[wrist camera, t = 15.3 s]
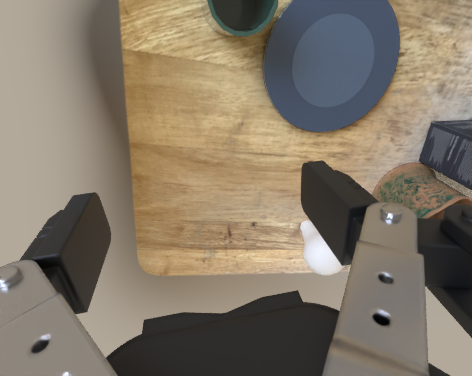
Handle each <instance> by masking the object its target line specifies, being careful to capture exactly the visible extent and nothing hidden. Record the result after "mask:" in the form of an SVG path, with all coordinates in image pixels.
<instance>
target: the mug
mask: <svg viewBox="0 0 472 376" xmlns="http://www.w3.org/2000/svg"><path fill="white" fill-rule="evenodd" d="M372 196H373V197H375V198H376V199H377V200H378V201H379V202H390V203H396V204H400V205H402V206H405V207H407V208H409V209H410V210H412V211H413V212H414V213H415V214H416V216H417V218H430V219H442V217H443V214H444V210H445V208H446V207H448V206H450V205H454V204H466V205H472V199H471V198H469V197H467V196H465V195H463V194H462V193H460V192H459V191H457V190H455V189H453V188H451V187H450V186H448V185H447V184H445V183H443V182H442V181H440V180H438V179H436V175H435V173H434V172H433V170H432V169H431V168H430V167H428V166H426V165H424V164H421V163H407V164H403V165H401V166H398V167H396V168H394V169H393V170H391V171H390V172H388V173H387V174H386V175H385V176H384V177H383V178H382V179H381V180H380V182H379V183H378V184H377V186H376V188H375V190H374V192H373V195H372Z"/></svg>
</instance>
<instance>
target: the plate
mask: <svg viewBox="0 0 472 376" xmlns="http://www.w3.org/2000/svg"><path fill="white" fill-rule="evenodd" d="M399 48H400V36H399V27H398V23H397V19H396V16H395V14H394V11H393V9H392V7H391V5H390V4H389V2H388V0H292V1H291V2H290V3H289V4H288V5H287V6H286V7H285V8H284V10H283V11H282V12H281V14H280V15H279V17H278V18H277V20H276V22H275V24H274V25H273V27H272V29H271V32H270V34H269V37H268V40H267V43H266V47H265V52H264V58H263V76H264V83H265V87H266V91H267V94H268V96H269V98H270V100H271V102H272V104H273V106H274V107H275V109H276V110H277V111H278V113H279V114H280V115H281V116H282V117H283V118H284V119H286V120H287V121H288V122H289V123H291V124H293V125H294V126H296V127H298V128H301V129H303V130H307V131H312V132H328V131H334V130H337V129H341V128H344V127H346V126H348V125H350V124H352V123H354V122H355V121H357V120H359V119H360V118H361V117H363V116H364V115H365V114H366V113H368V112H369V111H370V110H371V109H372V108H373V107H374V106H375V104H376V103H377V102H378V101H379V100H380V98H381V97H382V96H383V94H384V93H385V91H386V89H387V87H388V86H389V84H390V81H391V79H392V77H393V74H394V72H395V69H396V65H397V61H398V56H399Z"/></svg>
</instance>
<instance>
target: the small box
mask: <svg viewBox="0 0 472 376" xmlns="http://www.w3.org/2000/svg"><path fill="white" fill-rule="evenodd" d="M419 161H420V162H422V163H424V164H426V165H428V166H429V167H431V168H433V169H435V170H436V171H438V172H440V173H442V174H444V175H445V176H447V177H449V178H451V179H453V180H454V181H456V182H458V183H460V184H462V185H463V186H465V187H467V188H469V189H471V190H472V120H461V121H437V122H432V123H431V126H430V129H429V132H428V135H427V138H426V141H425V144H424V147H423V150H422V153H421V156H420V159H419Z"/></svg>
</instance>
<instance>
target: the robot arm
mask: <svg viewBox="0 0 472 376" xmlns="http://www.w3.org/2000/svg"><path fill="white" fill-rule="evenodd" d="M301 204H302V208H303V210H304V212H305V213H306V215H307V216H308V218H309V219H310V221H311V222H312V224H313V225H314V226H315V228H316V229H317V231H318V232H319V234H320V235H321V237H322V238H323V239H324V241H325V242H326V244H327V245H328V247H329V248H330V249H331V251H332V252H333V254H334V255H335V257H336V258H337V260H338V261H339V262H340V264H341V265H342V266H344V265H349V264H351V268H350V272H349V276H348V280H347V284H346V288H345V292H344V296H343V300H342V304H341V308H340V311H338V310H336V309H334V308H331V307H328V306H324V305H320V304H316V303H308V302H303V301H302V299H301V297H300V294H299V292H298V291H293V292H288V293H282V294H277V295H272V296H266V297H262V298H259V299H257V300H254V301H252V302H250V303H248V304H245V305H243V306H241V307H238V308H236V309H234V310H232V311H229V312H227V313H221V314H219V313H186V312H184V313H178V314H172V315H167V316H162V317H157V318H153V319H146V320H144V323H143V331H142V334H141V335H139V336H137V337H135V338H133V339H131V340H129V341H127V342H126V343H125V344H123V345H121V346H120V347H119V348H117V349H116V350H114V351H113V352H112V353H111V354H110V355H108V356H107V357H106V358H105V357H104V355H103V354H102V352H101V351H100V349H99V348H98V347H97V345H96V344H95V342H94V341H93V339H92V338H91V336H90V335H89V334H88V332H87V331H86V329H85V328H84V326H83V325H82V324H81V322H80V321H79V319H78V318H77V316H76V315H75V314H79V313H84V312H87V311H88V308H89V305H90V302H91V299H92V296H93V293H94V290H95V287H96V284H97V281H98V278H99V275H100V272H101V269H102V266H103V263H104V260H105V257H106V254H107V251H108V248H109V245H110V242H111V231H110V226H109V223H108V221H107V218H106V215H105V212H104V209H103V206H102V204H101V200H100V198H99V196H98V194H97V193H95V192H94V193H87V194H80V195H74V196H73V197H72V198H71V200H70V201H69V203H68V204H67V206H66V207H65V209H64V210H60V211H59V212H57V213H56V214H55V215H54V216H52V217H51V218H49V219H48V221H47V222H46V224H45V225H44V227H43V228H42V230H41V231H40V232H39V233H38V235H37V238H35V239H34V241H33V242H32V243H31V245H30V246H29V248H28V249H27V251H26V252H25V253H24V255H23V256H22V257H21V259H20V260H19V261H16V262H12V263H10V264H7V265H5V266H2V267H0V376H450V375H448V374H446V373H445V372H443V371H442V370H440V369H438V368H436V367H435V366H433V365H431V364H430V363H428V348H427V323H426V299H425V286H426V287H427V288H428V289H429V290H430V291H431V292H432V293H433V295H434V296H435V297H436V298H437V299H438V300H439V301H440V303H441V304H442V305H443V306H444V307H445V308H446V309H447V310H448V312H449V313H450V314H451V315H452V316H453V317H454V318H455V319H456V321H457V322H458V323H459V324H460V325H461V326H462V327H463V329H464V330H465V331H466V332H467V333H468V334H469V335H470V336H471V338H472V205H466V204H454V205H450V206H448V207H446V208H445V210H444V214H443V217H442V219H430V218H417V216H416V214H415V213H414V212H413V211H412V210H410V209H409V208H407V207H405V206H402V205H400V204H396V203H390V202H379V201H378V200H377V199H376V198H375V197H373V196H372V195H371V194H370V193H369V192H367V191H366V190H365V189H364V188H362V187H361V186H360V185H359V184H358V183H355V181H354V180H353V179H352V178H351V177H350V176H348V175H347V174H344V173H342V172H340V171H337V170H335V171H334V170H333V169H332V168H331V167H329V166H328V165H327V164H326V163H325V162H324V161H315V162H308V163H304V164H303V165H302V175H301Z"/></svg>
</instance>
